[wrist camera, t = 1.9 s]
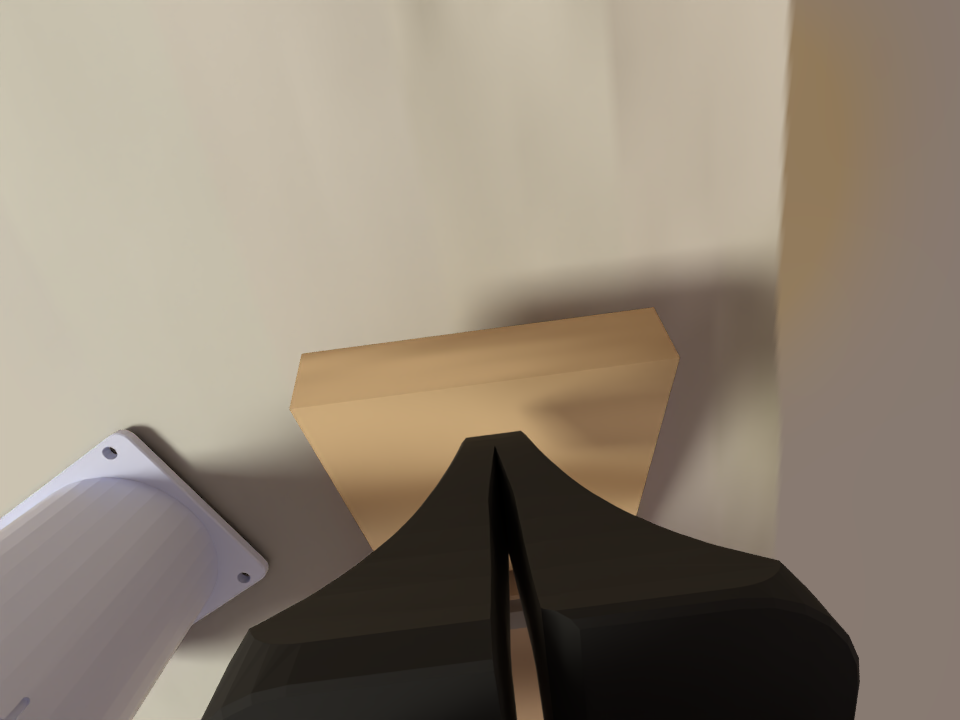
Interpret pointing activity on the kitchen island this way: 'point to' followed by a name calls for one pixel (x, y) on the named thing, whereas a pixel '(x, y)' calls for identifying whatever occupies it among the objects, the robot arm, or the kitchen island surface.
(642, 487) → the oak plank
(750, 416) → the kitchen island surface
